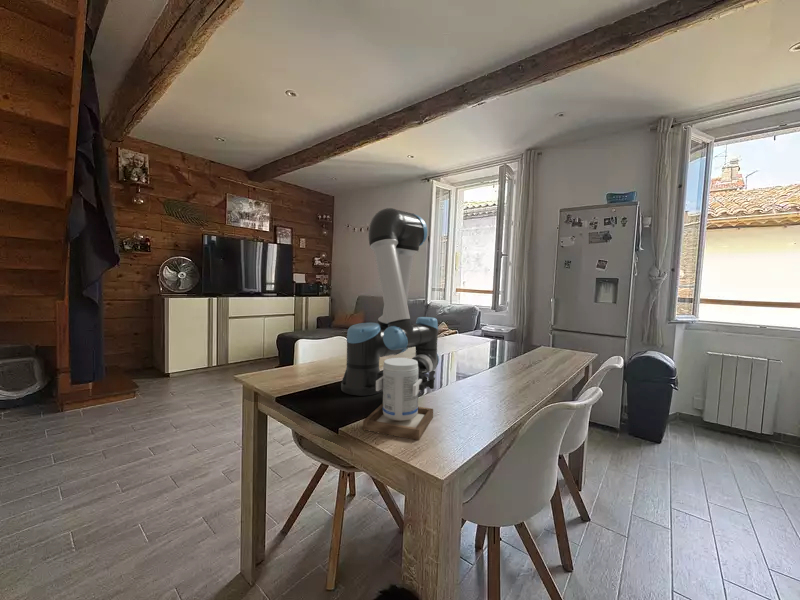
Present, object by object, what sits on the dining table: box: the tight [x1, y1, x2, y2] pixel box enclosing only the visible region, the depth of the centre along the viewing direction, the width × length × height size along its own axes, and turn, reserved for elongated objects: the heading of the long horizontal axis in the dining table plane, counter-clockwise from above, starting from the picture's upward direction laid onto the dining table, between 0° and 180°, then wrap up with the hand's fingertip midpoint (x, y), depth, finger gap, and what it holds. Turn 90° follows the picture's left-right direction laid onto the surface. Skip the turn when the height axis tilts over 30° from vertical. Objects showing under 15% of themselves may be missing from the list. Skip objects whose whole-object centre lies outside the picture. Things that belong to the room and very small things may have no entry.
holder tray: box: [362, 403, 434, 441], centre depth 90 cm, size 15×15×2 cm
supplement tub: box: [382, 357, 419, 421], centre depth 90 cm, size 10×10×15 cm
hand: (395, 388), depth 85 cm, fingers closed on supplement tub, 9 cm apart
